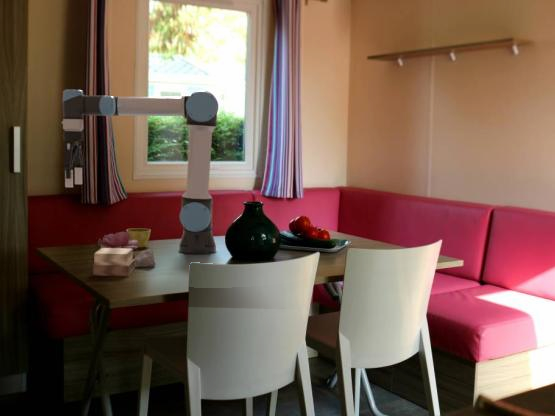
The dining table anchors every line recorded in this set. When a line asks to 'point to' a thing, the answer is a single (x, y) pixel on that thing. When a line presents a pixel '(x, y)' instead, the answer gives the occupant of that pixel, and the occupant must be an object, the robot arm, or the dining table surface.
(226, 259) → the dining table surface
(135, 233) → the flower pot
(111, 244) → the flower
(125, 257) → the tower top
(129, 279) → the dining table surface
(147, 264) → the stone
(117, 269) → the tower base
